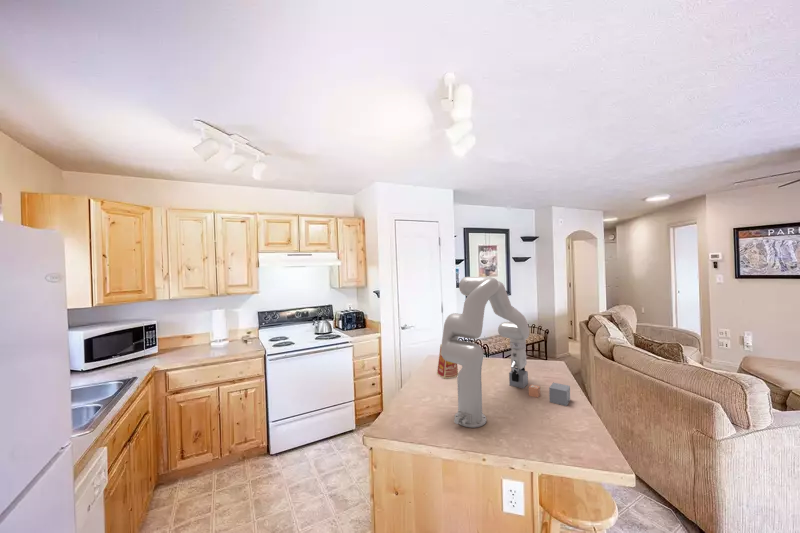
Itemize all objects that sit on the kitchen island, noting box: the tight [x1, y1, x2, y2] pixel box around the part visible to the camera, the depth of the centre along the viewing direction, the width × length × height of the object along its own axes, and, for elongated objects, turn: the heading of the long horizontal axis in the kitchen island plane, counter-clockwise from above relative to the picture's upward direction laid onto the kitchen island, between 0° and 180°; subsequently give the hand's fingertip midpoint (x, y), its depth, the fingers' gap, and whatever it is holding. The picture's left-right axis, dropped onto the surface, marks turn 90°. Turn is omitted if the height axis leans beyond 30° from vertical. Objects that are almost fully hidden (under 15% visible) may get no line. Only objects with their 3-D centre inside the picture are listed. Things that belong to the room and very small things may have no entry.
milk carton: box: [436, 343, 459, 380], centre depth 178 cm, size 9×9×20 cm
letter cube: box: [528, 384, 541, 398], centre depth 150 cm, size 4×4×4 cm
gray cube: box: [508, 369, 529, 390], centre depth 163 cm, size 7×7×6 cm
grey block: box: [548, 382, 571, 407], centre depth 143 cm, size 7×7×6 cm
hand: (518, 378), depth 163 cm, fingers open, 9 cm apart
